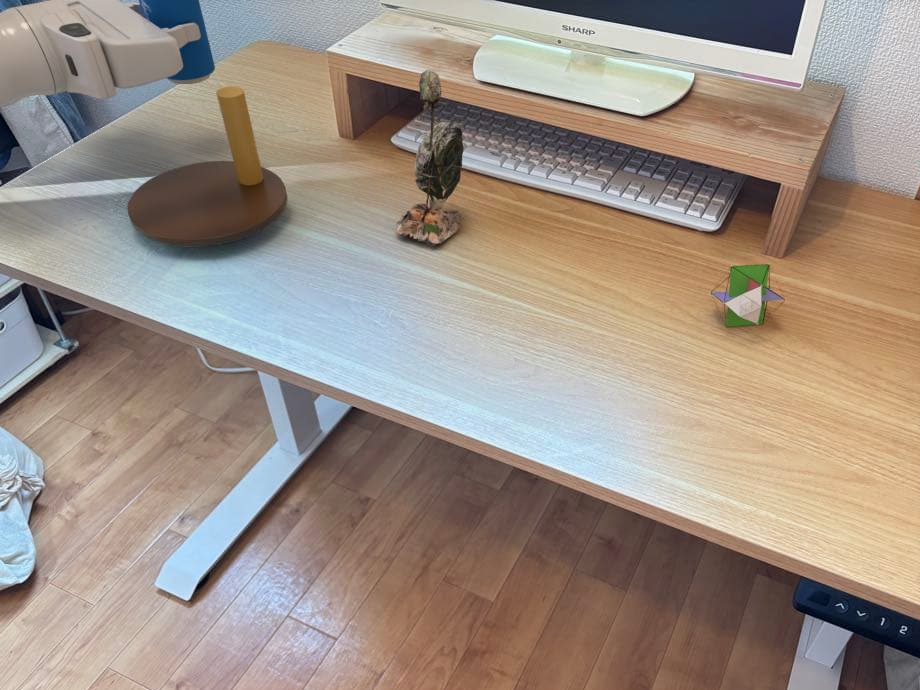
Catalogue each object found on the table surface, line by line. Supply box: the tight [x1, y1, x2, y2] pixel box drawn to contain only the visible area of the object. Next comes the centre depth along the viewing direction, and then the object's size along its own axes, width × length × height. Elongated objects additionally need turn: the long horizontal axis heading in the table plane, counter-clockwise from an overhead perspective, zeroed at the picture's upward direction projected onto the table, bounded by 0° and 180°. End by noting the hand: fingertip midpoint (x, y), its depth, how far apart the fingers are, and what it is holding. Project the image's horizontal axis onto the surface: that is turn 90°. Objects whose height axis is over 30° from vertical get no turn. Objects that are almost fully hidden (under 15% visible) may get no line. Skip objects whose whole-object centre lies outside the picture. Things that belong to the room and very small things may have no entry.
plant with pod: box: [394, 69, 465, 247], centre depth 91 cm, size 8×11×20 cm
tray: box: [126, 85, 288, 248], centre depth 91 cm, size 18×18×12 cm
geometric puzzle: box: [709, 263, 787, 328], centre depth 84 cm, size 7×7×8 cm
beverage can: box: [138, 0, 216, 85], centre depth 94 cm, size 6×6×12 cm
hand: (181, 19), depth 94 cm, fingers closed on beverage can, 6 cm apart
